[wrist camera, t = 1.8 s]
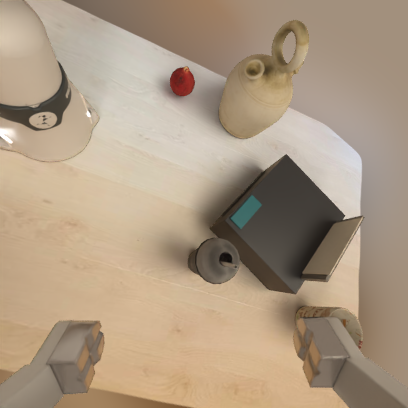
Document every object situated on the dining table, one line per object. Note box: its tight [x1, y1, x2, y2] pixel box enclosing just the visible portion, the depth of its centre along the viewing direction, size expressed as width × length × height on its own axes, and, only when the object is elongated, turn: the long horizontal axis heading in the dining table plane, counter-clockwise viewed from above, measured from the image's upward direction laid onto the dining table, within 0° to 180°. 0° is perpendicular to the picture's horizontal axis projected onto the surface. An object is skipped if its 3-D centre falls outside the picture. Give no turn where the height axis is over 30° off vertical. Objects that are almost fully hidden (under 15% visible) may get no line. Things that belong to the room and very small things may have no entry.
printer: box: [210, 154, 364, 294], centre depth 46 cm, size 19×22×16 cm
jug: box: [219, 20, 309, 138], centre depth 48 cm, size 15×16×25 cm
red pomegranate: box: [170, 66, 195, 96], centre depth 53 cm, size 6×6×8 cm
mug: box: [295, 306, 363, 350], centre depth 45 cm, size 8×13×10 cm, turn 31°
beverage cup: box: [188, 238, 240, 284], centre depth 37 cm, size 7×7×20 cm
